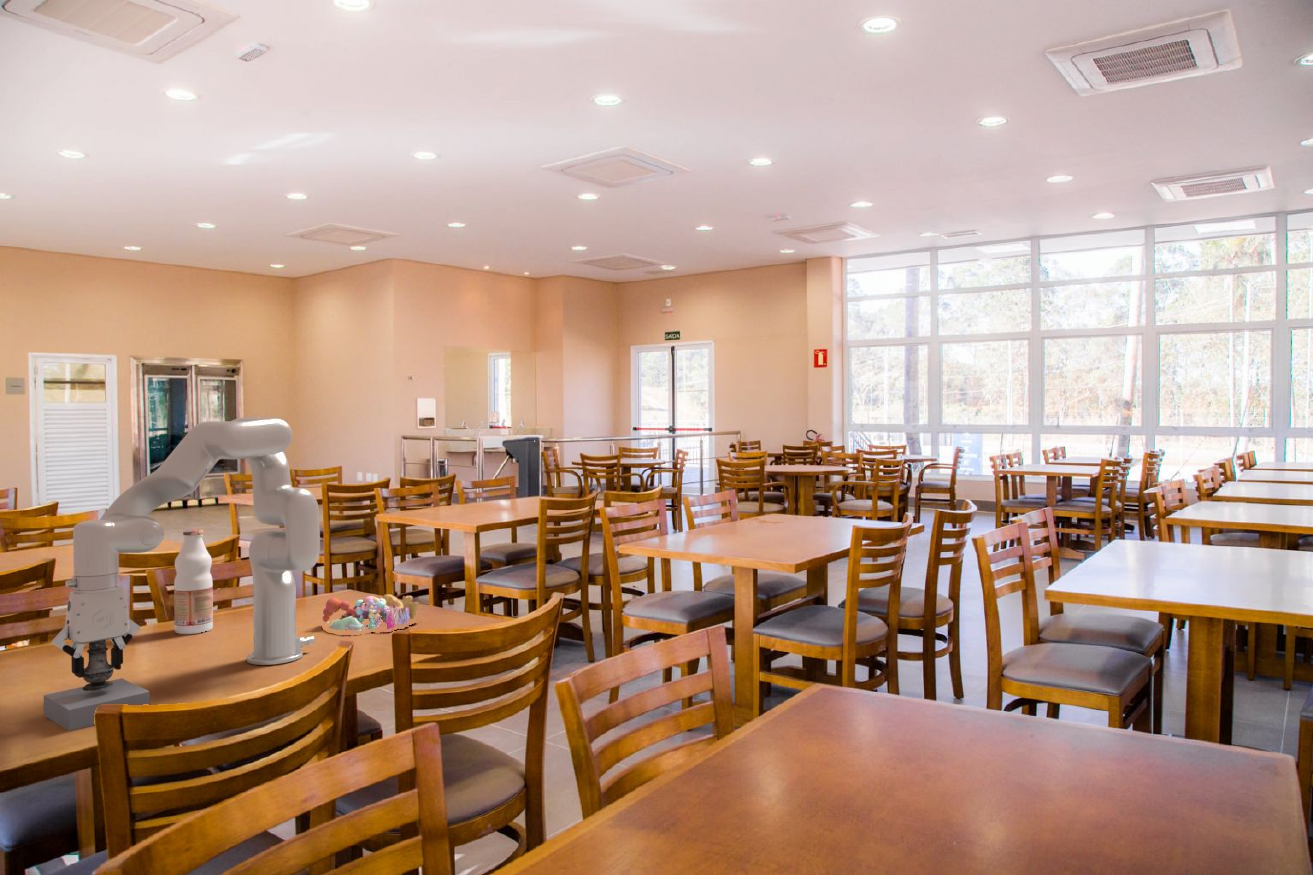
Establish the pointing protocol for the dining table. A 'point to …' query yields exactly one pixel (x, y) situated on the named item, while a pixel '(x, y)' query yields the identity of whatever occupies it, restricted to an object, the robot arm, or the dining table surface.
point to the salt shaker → (97, 667)
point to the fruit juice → (193, 586)
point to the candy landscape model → (371, 612)
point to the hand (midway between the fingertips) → (97, 671)
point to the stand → (90, 703)
